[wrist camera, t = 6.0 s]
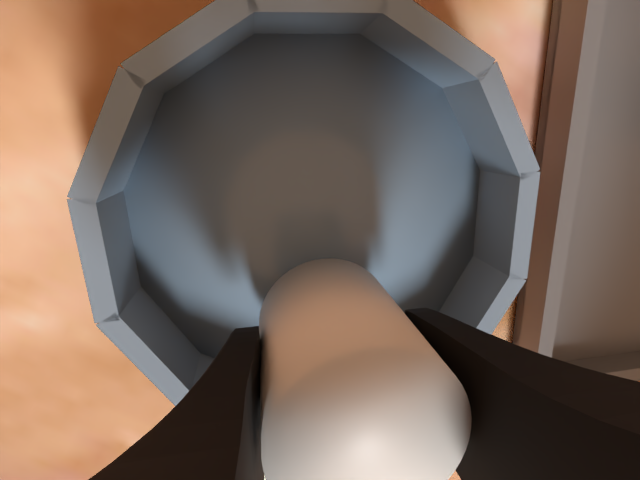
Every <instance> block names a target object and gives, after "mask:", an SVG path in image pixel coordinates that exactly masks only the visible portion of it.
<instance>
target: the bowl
mask: <svg viewBox="0 0 640 480" xmlns="http://www.w3.org/2000/svg"><path fill="white" fill-rule="evenodd" d="M494 61H495V59H494V58H493V57H491V56H490V55H488V54H487V53H486V52H484V51H483V50H481V49H480V48H479V47H477V46H476V45H474V44H473V43H472V42H470V41H469V40H467V39H466V38H465V37H463V36H462V35H461V34H459V33H458V32H456V31H455V30H454V29H452V28H451V27H449V26H448V25H447V24H445V23H444V22H442V21H441V20H440V19H438V18H437V17H435V16H434V15H433V14H431V13H430V12H428V11H427V10H426V9H424V8H423V7H421V6H420V5H419V4H417V3H416V2H415V1H413V0H215V1H213V2H212V3H210V4H209V5H207V6H206V7H204V8H203V9H201V10H200V11H198V12H197V13H195V14H194V15H192V16H191V17H189V18H188V19H186V20H185V21H183V22H182V23H180V24H179V25H177V26H176V27H174V28H173V29H171V30H170V31H168V32H167V33H165V34H164V35H162V36H161V37H159V38H158V39H156V40H155V41H153V42H152V43H150V44H149V45H147V46H146V47H144V48H143V49H141V50H140V51H138V52H137V53H135V54H134V55H132V56H131V57H129V58H128V59H126V60H125V61H123V62H122V63H120V64H121V65H122V66H123V68H122V67H120V66H118V69H117V71H116V74H115V76H114V79H113V81H112V84H111V86H110V89H109V91H108V94H107V97H106V99H105V102H104V104H103V107H102V109H101V112H100V114H99V117H98V119H97V122H96V125H95V127H94V130H93V132H92V135H91V137H90V140H89V142H88V145H87V147H86V150H85V153H84V155H83V158H82V160H81V163H80V165H79V168H78V170H77V173H76V175H75V178H74V181H73V183H72V186H71V188H70V191H69V193H68V196H67V197H69V198H70V199H67V202H68V206H69V211H70V215H71V220H72V224H73V229H74V233H75V238H76V242H77V247H78V251H79V256H80V260H81V264H82V269H83V273H84V278H85V282H86V287H87V291H88V296H89V300H90V305H91V309H92V314H93V318H94V322H95V323H97V325H96V326H97V327H98V328H99V329H100V330H101V331H102V332H103V333H104V334H105V335H106V336H107V337H108V338H109V339H110V340H111V341H112V342H113V343H114V344H115V345H116V346H117V347H118V348H119V349H120V350H121V351H122V352H123V353H124V354H125V355H126V356H127V358H128V359H129V360H130V361H131V362H132V363H133V364H134V365H135V366H136V367H137V368H138V369H139V370H140V371H141V372H142V373H143V374H144V375H145V376H146V377H147V378H148V379H149V380H150V381H151V382H152V383H153V384H154V385H155V386H156V387H157V388H158V389H159V390H160V391H161V392H162V393H163V394H164V395H165V396H166V397H167V398H168V399H169V400H170V401H171V402H172V403H173V404H174V405H175V406H176V405H177V404H178V403H179V402H180V401H181V400H182V399H183V398H184V396H185V395H186V394H187V393H188V392H189V390H190V389H191V388H192V387H193V386H194V385H195V383H196V382H197V381H198V380H199V379H200V377H201V376H202V375H203V374H204V372H205V371H206V370H207V368H208V367H209V366H210V364H211V363H212V361H213V360H214V359H215V357H216V356H217V355H218V353H219V352H220V350H221V349H222V347H223V346H224V344H225V343H226V341H227V339H228V338H229V336H230V334H231V333H232V332H233V331H234V330H235V329H236V328H245V327H254V326H259V317H260V311H261V307H262V304H263V301H264V299H265V297H266V295H267V293H268V292H269V290H270V288H271V287H272V286H273V285H274V284H275V282H276V281H277V280H278V279H279V278H280V277H281V276H283V275H284V274H285V273H287V272H288V271H289V270H291V269H293V268H294V267H296V266H298V265H301V264H303V263H305V262H309V261H312V260H317V259H325V258H334V259H342V260H346V261H350V262H352V263H355V264H358V265H359V266H361V267H363V268H365V269H366V270H367V271H368V272H370V273H371V274H372V275H373V276H374V277H375V278H376V279H377V280H378V282H379V283H380V284H381V285H382V286H383V288H384V289H385V290H386V291H387V293H388V294H389V295H390V296H391V297H392V299H393V300H394V301H395V302H396V304H397V305H398V306H399V307H400V308H401V310H402V311H403V312H404V313H405V310H407V309H416V308H425V307H426V308H429V309H432V310H435V311H438V312H440V313H443V314H445V315H447V316H450V317H452V318H454V319H457V320H459V321H461V322H463V323H466V324H468V325H470V326H472V327H475V328H477V329H479V330H482V331H484V332H486V333H488V334H492V333H493V331H494V329H495V328H496V326H497V325H498V323H499V322H500V320H501V319H502V317H503V316H504V314H505V313H506V311H507V309H508V308H509V306H510V305H511V303H512V302H513V300H514V299H515V297H516V296H517V294H518V293H519V291H520V289H521V288H522V286H523V285H524V283H525V282H526V280H524V279H527V275H528V267H529V259H530V251H531V243H532V235H533V227H534V219H535V212H536V204H537V196H538V188H539V180H540V172H539V170H540V168H539V165H538V163H537V160H536V158H535V155H534V153H533V150H532V148H531V145H530V143H529V140H528V138H527V135H526V133H525V130H524V128H523V125H522V123H521V120H520V118H519V115H518V113H517V110H516V108H515V105H514V103H513V100H512V98H511V95H510V93H509V90H508V88H507V85H506V83H505V80H504V78H503V75H502V73H501V71H500V68H499V66H498V63H497V62H494Z"/></svg>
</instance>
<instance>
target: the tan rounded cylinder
mask: <svg viewBox="0 0 640 480" xmlns="http://www.w3.org/2000/svg"><path fill="white" fill-rule="evenodd" d="M259 333H260V354H261V367H260V407H261V461H262V466H263V472H264V475H265V478H266V480H448V479H449V478H450V477H451V475H452V474H453V473H454V471H455V470H456V468H457V467H458V465H459V463H460V462H461V460H462V458H463V455H464V453H465V451H466V448H467V445H468V442H469V438H470V433H471V422H472V416H471V408H470V403H469V400H468V396H467V394H466V392H465V390H464V388H463V385H462V384H461V383H460V381H459V380H458V378H457V377H456V376H455V374H454V373H453V372H452V371H451V369H450V368H449V367H448V366H447V365H446V363H445V362H444V361H443V360H442V358H441V357H440V356H439V355H438V354H437V352H436V351H435V350H434V349H433V347H432V346H431V345H430V344H429V343H428V341H427V340H426V339H425V338H424V336H423V335H422V334H421V333H420V332H419V330H418V329H417V328H416V327H415V326H414V324H413V323H412V322H411V321H410V319H409V318H408V317H407V316H406V315H405V313H404V312H403V311H402V310H401V308H400V307H399V306H398V305H397V304H396V302H395V301H394V300H393V299H392V297H391V296H390V295H389V294H388V293H387V291H386V290H385V289H384V288H383V286H382V285H381V284H380V283H379V282H378V280H377V279H376V278H375V277H374V276H373V275H372V274H371V273H370V272H368V271H367V270H366V269H365V268H363V267H361V266H359V265H358V264H355V263H352V262H350V261H346V260H342V259H334V258H325V259H317V260H312V261H309V262H305V263H303V264H301V265H298V266H296V267H294V268H293V269H291V270H289V271H288V272H287V273H285V274H284V275H283V276H281V277H280V278H279V279H278V280H277V281H276V282H275V284H274V285H273V286H272V287H271V288H270V290H269V292H268V293H267V295H266V297H265V299H264V301H263V304H262V307H261V311H260V317H259Z"/></svg>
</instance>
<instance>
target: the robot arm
mask: <svg viewBox="0 0 640 480" xmlns="http://www.w3.org/2000/svg"><path fill="white" fill-rule="evenodd" d="M405 315H406V316H407V317H408V318H409V319H410V321H411V322H412V323H413V324H414V326H415V327H416V328H417V329H418V330H419V332H420V333H421V334H422V335H423V336H424V338H425V339H426V340H427V341H428V343H429V344H430V345H431V346H432V347H433V349H434V350H435V351H436V352H437V354H438V355H439V356H440V357H441V358H442V360H443V361H444V362H445V363H446V365H447V366H448V367H449V368H450V369H451V371H452V372H453V373H454V374H455V376H456V377H457V378H458V380H459V381H460V383H461V384H462V385H463V388H464V390H465V392H466V394H467V396H468V400H469V403H470V408H471V416H472V422H471V433H470V438H469V442H468V445H467V448H466V451H465V453H464V455H463V458H462V460H461V462H460V463H459V465H458V467H457V468H456V472H457V473H458V475H459V476H460V478H461V480H640V382H638V381H634V380H630V379H626V378H622V377H618V376H614V375H610V374H606V373H602V372H598V371H594V370H591V369H587V368H583V367H580V366H577V365H574V364H570V363H567V362H564V361H561V360H558V359H554V358H551V357H548V356H545V355H542V354H539V353H537V352H534V351H531V350H529V349H526V348H523V347H521V346H518V345H515V344H513V343H510V342H508V341H505V340H503V339H500V338H498V337H496V336H493V335H491V334H488V333H486V332H484V331H482V330H479V329H477V328H475V327H472V326H470V325H468V324H466V323H463V322H461V321H459V320H457V319H454V318H452V317H450V316H447V315H445V314H443V313H440V312H438V311H435V310H432V309H429V308H426V307H425V308H416V309H407V310H405ZM260 367H261V354H260V333H259V326H254V327H245V328H236V329H235V330H234V331H233V332H232V333H231V334H230V336H229V338H228V339H227V341H226V343H225V344H224V346H223V347H222V349H221V350H220V352H219V353H218V355H217V356H216V357H215V359H214V360H213V361H212V363H211V364H210V366H209V367H208V368H207V370H206V371H205V372H204V374H203V375H202V376H201V377H200V379H199V380H198V381H197V382H196V383H195V385H194V386H193V387H192V388H191V389H190V390H189V392H188V393H187V394H186V395H185V396H184V398H183V399H182V400H181V401H180V402H179V403H178V404H177V405H176V406H175V407H174V408H173V409H172V410H171V412H170V413H168V414H167V415H166V416H165V417H164V418H163V419H162V420H161V421H160V422H159V423H158V424H157V425H156V426H155V427H154V428H153V429H152V430H150V431H149V432H148V433H147V434H146V435H144V436H143V437H142V438H141V439H140V440H138V441H137V442H136V443H135V444H134V445H132V446H131V447H130V448H129V449H128V450H126V451H125V452H124V453H123V454H122V455H120V456H119V457H118V458H117V459H116V460H114V461H113V462H112V463H110V464H109V465H108V466H106V467H105V468H104V469H102V470H101V471H100V472H98V473H97V474H96V475H94V476H93V477H92V478H90V479H89V480H264V472H263V466H262V461H261V407H260Z"/></svg>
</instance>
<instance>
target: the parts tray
mask: <svg viewBox="0 0 640 480" xmlns="http://www.w3.org/2000/svg"><path fill="white" fill-rule="evenodd" d="M535 158H536V160H537V163H538V165H539V168H540V170H539V172H540V180H539V188H538V196H537V204H536V212H535V219H534V227H533V235H532V243H531V251H530V259H529V267H528V275H527V279H524V280H526V282H525V283H524V285H523V286H522V288H521V289H520V291H519V293H518V299H517V308H516V316H515V324H514V333H513V341H512V343H513V344H515V345H518V346H521V347H523V348H526V349H529V350H531V351H534V352H537V353H539V354H542V355H545V356H548V357H551V358H554V359H558V360H561V361H564V362H567V363H570V364H574V365H577V366H580V367H583V368H587V369H591V370H594V371H598V372H602V373H606V374H610V375H614V376H618V377H622V378H626V379H630V380H634V381H640V0H553V8H552V16H551V24H550V33H549V41H548V49H547V58H546V66H545V74H544V83H543V91H542V99H541V108H540V116H539V124H538V133H537V141H536V149H535Z"/></svg>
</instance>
